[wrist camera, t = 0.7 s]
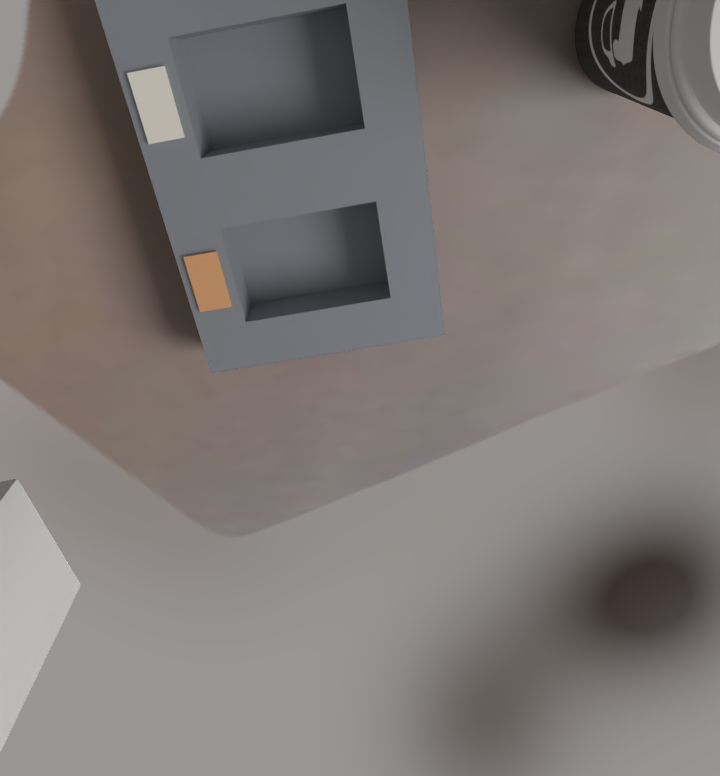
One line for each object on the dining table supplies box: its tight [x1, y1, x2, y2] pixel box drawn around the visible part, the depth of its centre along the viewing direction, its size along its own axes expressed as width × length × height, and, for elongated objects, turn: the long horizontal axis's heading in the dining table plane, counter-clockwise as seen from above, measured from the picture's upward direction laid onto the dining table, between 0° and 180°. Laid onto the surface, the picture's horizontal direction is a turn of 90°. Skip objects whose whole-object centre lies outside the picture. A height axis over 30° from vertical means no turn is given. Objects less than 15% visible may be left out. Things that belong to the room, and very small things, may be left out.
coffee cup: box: [575, 0, 720, 153], centre depth 26 cm, size 10×10×15 cm
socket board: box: [95, 0, 445, 373], centre depth 34 cm, size 20×14×4 cm
